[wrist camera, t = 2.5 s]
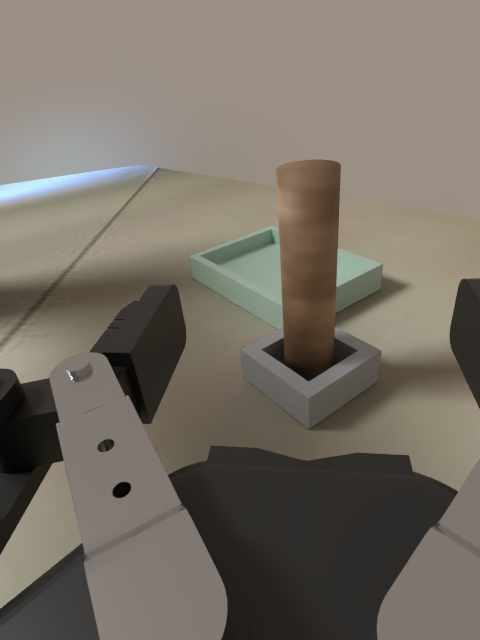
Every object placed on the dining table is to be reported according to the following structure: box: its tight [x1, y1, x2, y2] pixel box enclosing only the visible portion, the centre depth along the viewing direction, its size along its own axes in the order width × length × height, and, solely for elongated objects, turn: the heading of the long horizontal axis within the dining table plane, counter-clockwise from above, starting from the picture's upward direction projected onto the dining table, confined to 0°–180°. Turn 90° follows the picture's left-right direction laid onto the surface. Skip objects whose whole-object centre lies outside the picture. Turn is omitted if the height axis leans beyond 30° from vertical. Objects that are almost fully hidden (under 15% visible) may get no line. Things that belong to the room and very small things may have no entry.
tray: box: [189, 226, 383, 329], centre depth 40 cm, size 15×11×2 cm
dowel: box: [276, 160, 341, 382], centre depth 25 cm, size 3×3×14 cm
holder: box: [240, 327, 381, 430], centre depth 28 cm, size 6×6×2 cm
